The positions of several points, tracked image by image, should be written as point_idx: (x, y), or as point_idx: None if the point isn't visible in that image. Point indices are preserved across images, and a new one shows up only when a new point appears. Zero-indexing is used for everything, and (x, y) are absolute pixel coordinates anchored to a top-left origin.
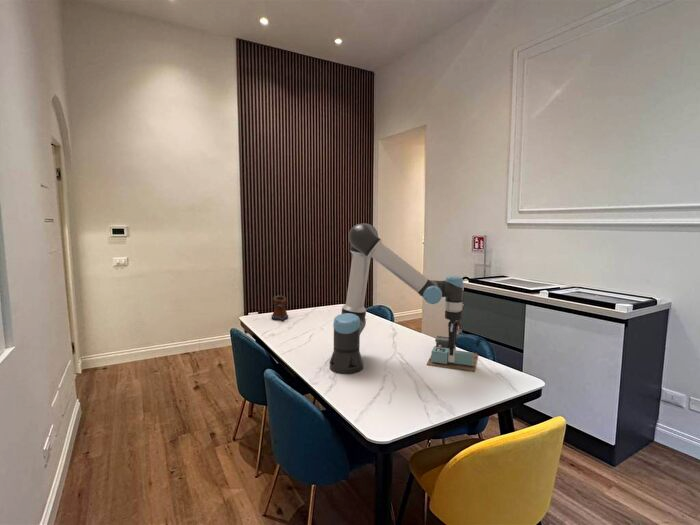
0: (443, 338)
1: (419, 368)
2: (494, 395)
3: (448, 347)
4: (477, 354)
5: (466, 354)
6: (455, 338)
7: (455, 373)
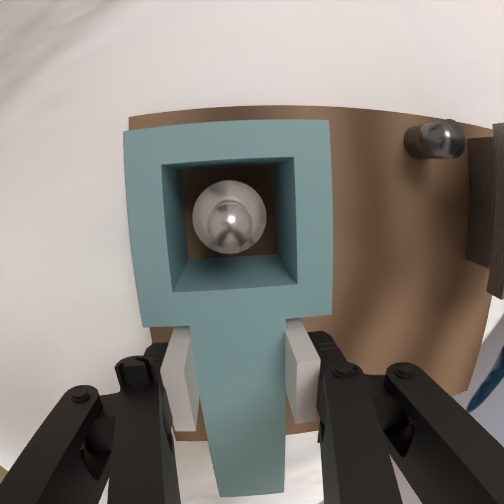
0: None
1: (53, 98)
2: None
3: (71, 390)
4: (458, 392)
5: (214, 467)
6: (324, 489)
7: (89, 347)
